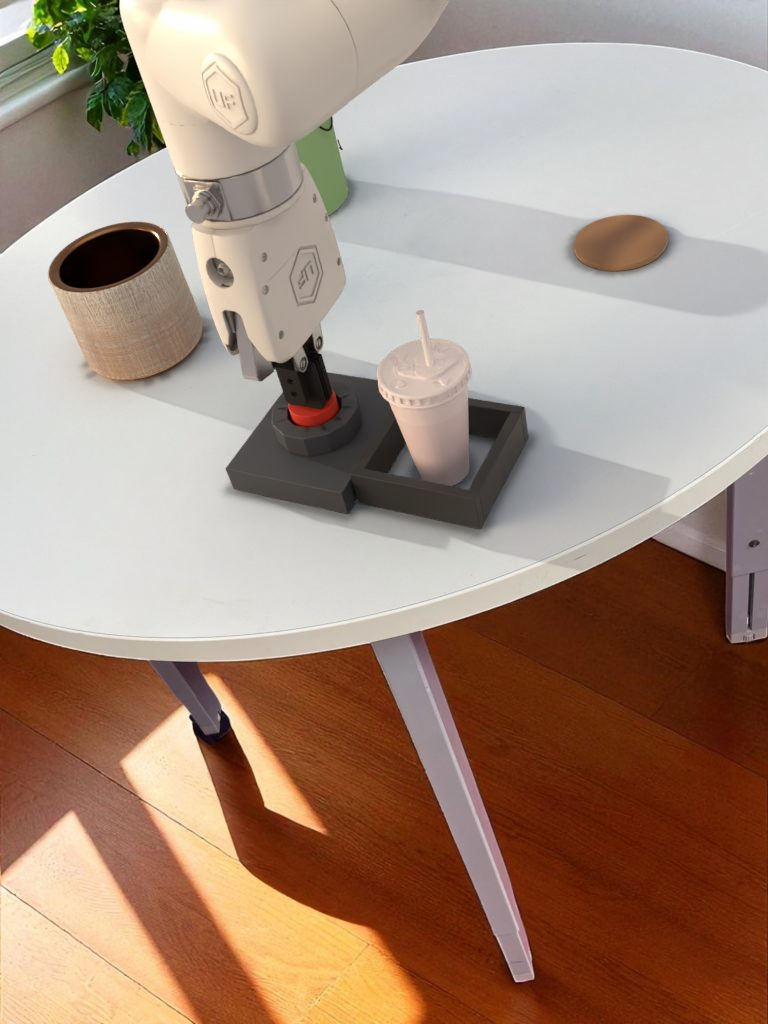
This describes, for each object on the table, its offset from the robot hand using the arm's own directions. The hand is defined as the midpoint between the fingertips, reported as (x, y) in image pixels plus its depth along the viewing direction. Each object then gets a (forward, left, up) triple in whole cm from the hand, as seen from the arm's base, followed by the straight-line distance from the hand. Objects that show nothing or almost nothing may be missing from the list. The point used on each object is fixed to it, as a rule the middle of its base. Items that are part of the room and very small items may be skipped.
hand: (310, 399), depth 79 cm
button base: (0, 0, -5) cm, 5 cm away
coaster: (-14, -30, -5) cm, 34 cm away
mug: (+21, -34, -5) cm, 40 cm away
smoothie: (-10, 0, -5) cm, 11 cm away
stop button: (0, 0, -2) cm, 2 cm away
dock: (-10, 0, -5) cm, 11 cm away
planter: (+23, -8, -5) cm, 25 cm away
